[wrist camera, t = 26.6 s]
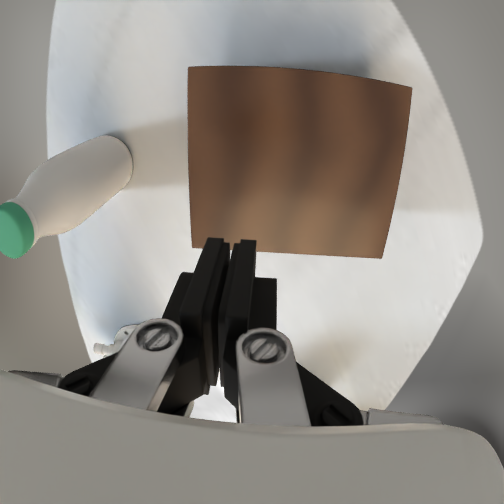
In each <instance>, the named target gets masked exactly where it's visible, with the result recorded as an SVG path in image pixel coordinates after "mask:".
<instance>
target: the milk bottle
mask: <svg viewBox="0 0 504 504" xmlns="http://www.w3.org/2000/svg"><path fill="white" fill-rule="evenodd" d="M132 170H133V162H132V157H131V154H130V152H129V150H128V148H127V147H126V145H125V144H124V143H123V142H121V141H120V140H119V139H117V138H115V137H112V136H106V135H104V136H99V137H96V138H93V139H91V140H88V141H86V142H84V143H81V144H79V145H77V146H75V147H72V148H70V149H68V150H66V151H64V152H62V153H60V154H58V155H56V156H54V157H52V158H50V159H49V160H47V161H45V162H43V163H42V164H41V165H40V166H38V167H37V168H36V169H35V170H34V171H33V172H32V174H31V175H30V176H29V177H28V179H27V180H26V182H25V184H24V186H23V188H22V190H21V191H20V193H19V194H18V196H17V197H16V198H15V199H10V200H8V201H6V203H4V204H2V205H0V251H1V252H2V253H3V254H5V255H6V256H8V257H10V258H19V257H21V256H23V255H24V254H25V253H26V252H27V251H28V250H29V249H30V248H31V247H32V246H34V245H35V243H36V242H37V239H38V238H40V237H43V236H48V235H57V234H62V233H65V232H67V231H70V230H72V229H73V228H75V227H77V226H78V225H80V224H81V223H82V222H83V221H85V220H86V219H87V218H88V217H90V216H91V215H92V214H93V213H94V212H95V211H97V210H98V209H99V208H100V207H101V206H103V205H104V204H105V203H106V202H107V201H108V200H110V199H111V198H112V197H113V196H114V195H116V194H117V193H118V192H119V191H120V190H122V189H123V188H124V187H125V186H126V185H127V183H128V182H129V180H130V178H131V175H132Z"/></svg>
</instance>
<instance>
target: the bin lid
mask: <svg viewBox="0 0 504 504" xmlns="http://www.w3.org/2000/svg"><path fill="white" fill-rule="evenodd" d="M411 96H412V87H408V86H403V85H399V84H394V83H390V82H385V81H380V80H375V79H369V78H364V77H358V76H352V75H345V74H338V73H331V72H323V71H314V70H305V69H294V68H280V67H261V66H195V67H188V170H189V198H190V220H191V238H192V248H204V245H205V243H206V240H207V238H208V237H213V238H224V242H228V243H230V250H233V246H234V243H240V240H241V239H247V240H257V245H256V251H257V252H274V253H292V254H309V255H327V256H344V257H362V258H379V259H382V256H383V252H384V248H385V244H386V240H387V236H388V232H389V227H390V223H391V219H392V214H393V209H394V205H395V200H396V195H397V190H398V185H399V180H400V174H401V168H402V163H403V157H404V150H405V144H406V137H407V130H408V122H409V114H410V105H411Z"/></svg>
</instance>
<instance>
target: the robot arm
mask: <svg viewBox="0 0 504 504" xmlns="http://www.w3.org/2000/svg"><path fill="white" fill-rule="evenodd" d="M256 245H257V240H247V239H241V240H240V243H234V246H233V250H232V254H231V259H230V243H228V242H224V238H213V237H208V238H207V240H206V243H205V245H204V248H203V250H202V253H201V255H200V258H199V260H198V263H197V265H196V268H195V271H194V273H188V272H182V273H181V274H180V276H179V279H178V281H177V283H176V286H175V288H174V290H173V293H172V295H171V297H170V300H169V302H168V304H167V307H166V309H165V311H164V314H163V316H162V318H157V319H150V320H147V321H144V322H143V323H141V324H139V325H128V326H125V327H123V328H121V329H120V330H119V331H118V332H117V334H116V336H115V339H114V345H113V344H111V345H110V346H107V345H104V344H99V343H95V344H94V347H93V350H94V353H96V354H101V355H104V358H103V359H100V360H98V361H96V362H94V363H91V364H89V365H87V366H85V367H82V368H80V369H78V370H75V371H73V372H71V373H70V374H68V375H66V376H65V377H62V375H61V374H55V373H41V372H40V373H39V372H27V371H17V370H12V371H8V372H7V371H4V370H0V504H504V469H503V467H502V465H501V463H500V460H499V458H498V456H497V454H496V452H495V450H494V449H493V448H492V446H491V445H490V443H488V442H487V440H486V439H485V438H483V437H481V436H480V435H479V434H476V433H474V432H472V431H469V430H466V429H462V428H457V427H453V426H448V425H444V424H443V422H442V421H440V420H439V419H438V418H436V417H433V416H429V415H421V414H410V413H402V412H393V411H386V410H378V409H371V408H369V410H368V412H367V411H361V410H359V409H358V408H357V407H356V406H355V405H354V404H353V403H352V402H350V401H349V400H348V399H346V398H345V397H343V396H342V395H341V394H339V393H338V392H336V391H335V390H334V389H332V388H331V387H330V386H328V385H327V384H325V383H324V382H323V381H321V380H320V379H319V378H317V377H316V376H315V375H313V374H312V373H311V372H309V371H308V370H307V369H305V368H304V367H303V366H301V365H300V364H299V363H297V362H296V360H295V356H294V352H293V348H292V344H291V342H290V340H289V339H288V338H287V337H286V336H285V335H284V334H283V333H281V332H279V331H278V330H276V322H277V279H275V278H259V277H255V265H256ZM219 368H220V380H221V387H224V395H225V398H226V399H227V400H228V401H229V402H230V403H231V404H232V405H233V406H234V407H235V408H236V423H231V422H221V421H212V420H204V419H196V418H189V417H190V414H191V412H192V409H193V406H194V400H195V399H196V398H198V397H200V396H202V395H203V394H206V395H208V394H209V389H210V385H211V386H216V384H217V379H218V373H219Z"/></svg>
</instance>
